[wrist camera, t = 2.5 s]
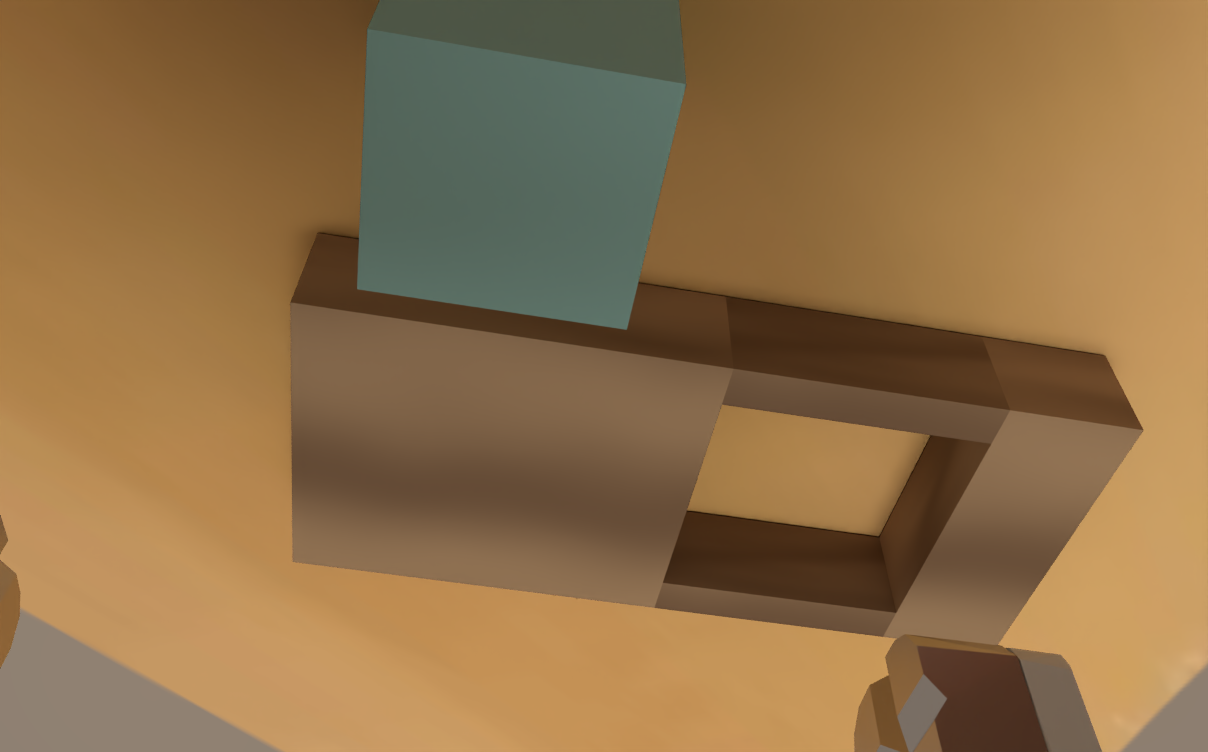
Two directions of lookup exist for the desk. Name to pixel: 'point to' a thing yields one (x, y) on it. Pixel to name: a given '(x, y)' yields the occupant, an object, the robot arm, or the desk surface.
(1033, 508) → the brown frame
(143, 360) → the desk surface
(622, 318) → the teal square prism
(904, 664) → the robot arm
